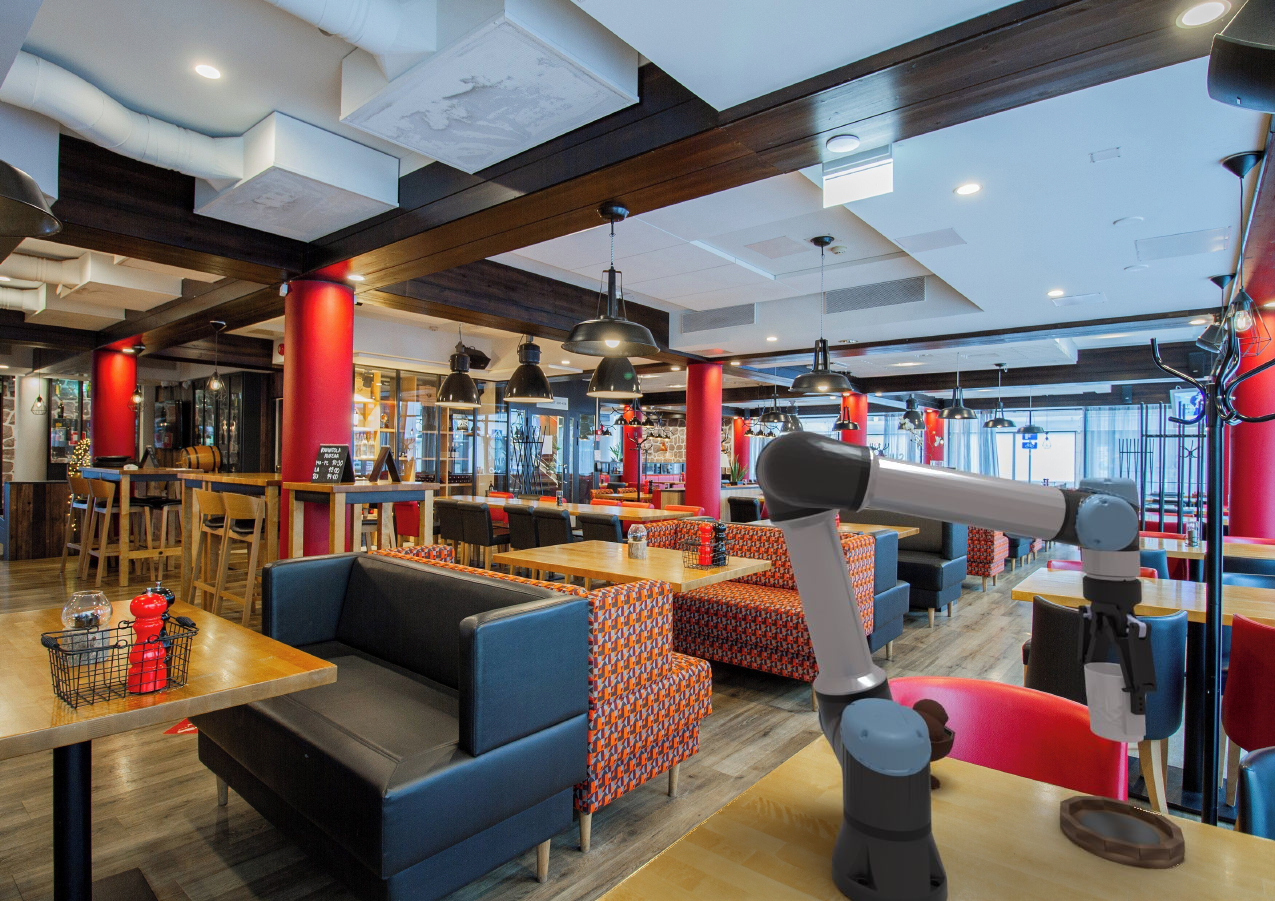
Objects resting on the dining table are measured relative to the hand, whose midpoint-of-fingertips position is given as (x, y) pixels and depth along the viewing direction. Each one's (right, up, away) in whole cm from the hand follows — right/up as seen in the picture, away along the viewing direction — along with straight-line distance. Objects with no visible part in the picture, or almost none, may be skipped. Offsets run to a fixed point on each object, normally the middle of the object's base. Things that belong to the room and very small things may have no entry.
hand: (1116, 723), depth 104 cm
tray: (0, -18, 0) cm, 18 cm away
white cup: (0, -2, 0) cm, 2 cm away
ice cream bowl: (-22, -19, +19) cm, 34 cm away
